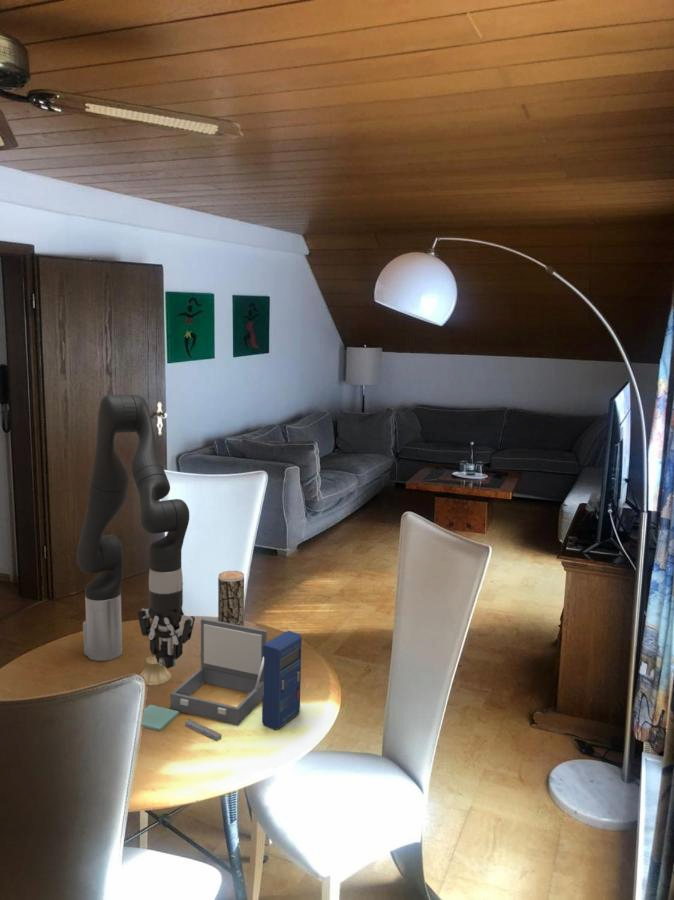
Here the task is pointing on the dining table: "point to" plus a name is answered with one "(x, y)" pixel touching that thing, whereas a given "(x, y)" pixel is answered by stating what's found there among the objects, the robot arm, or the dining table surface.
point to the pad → (157, 717)
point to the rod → (203, 730)
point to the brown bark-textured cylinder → (231, 597)
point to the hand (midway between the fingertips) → (166, 655)
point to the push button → (165, 646)
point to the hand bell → (155, 671)
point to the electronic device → (281, 679)
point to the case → (225, 671)
